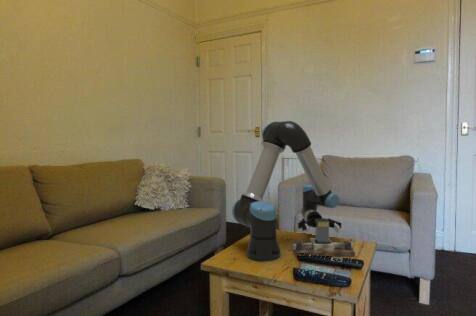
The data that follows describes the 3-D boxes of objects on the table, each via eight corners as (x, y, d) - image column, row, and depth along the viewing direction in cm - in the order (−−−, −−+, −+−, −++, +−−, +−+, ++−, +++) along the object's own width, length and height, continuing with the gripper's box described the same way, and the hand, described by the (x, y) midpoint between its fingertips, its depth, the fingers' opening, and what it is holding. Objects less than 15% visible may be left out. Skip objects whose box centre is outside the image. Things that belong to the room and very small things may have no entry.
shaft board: (294, 257, 150) (294, 245, 149) (290, 247, 162) (290, 237, 161) (356, 256, 149) (356, 244, 149) (347, 247, 161) (347, 236, 161)
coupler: (317, 249, 153) (317, 221, 152) (315, 245, 158) (315, 218, 157) (328, 249, 153) (329, 221, 152) (326, 245, 158) (326, 218, 157)
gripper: (338, 225, 173) (351, 238, 152) (289, 225, 173) (295, 238, 152) (338, 210, 172) (351, 221, 151) (289, 211, 173) (295, 222, 151)
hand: (323, 230), depth 151 cm, fingers open, 13 cm apart
